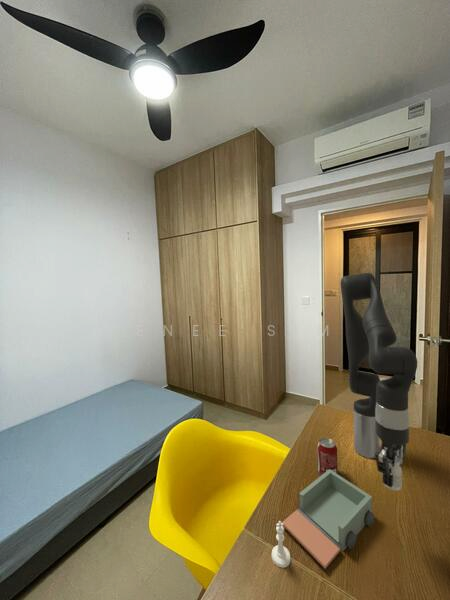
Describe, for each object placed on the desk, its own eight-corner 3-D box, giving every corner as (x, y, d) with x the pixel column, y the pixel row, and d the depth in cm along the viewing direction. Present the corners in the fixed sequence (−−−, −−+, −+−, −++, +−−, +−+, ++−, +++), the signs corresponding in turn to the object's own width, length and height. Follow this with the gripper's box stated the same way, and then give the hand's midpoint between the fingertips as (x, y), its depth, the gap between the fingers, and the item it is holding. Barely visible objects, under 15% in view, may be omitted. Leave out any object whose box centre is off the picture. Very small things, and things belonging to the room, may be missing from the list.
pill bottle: (383, 475, 71) (383, 450, 70) (402, 483, 68) (402, 456, 67) (381, 485, 67) (381, 459, 67) (400, 494, 65) (401, 466, 64)
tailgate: (298, 507, 77) (282, 522, 72) (341, 546, 65) (325, 565, 61) (298, 510, 77) (282, 525, 73) (341, 549, 65) (325, 569, 61)
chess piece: (269, 548, 67) (268, 514, 67) (286, 545, 68) (285, 511, 67) (274, 569, 62) (273, 532, 62) (293, 566, 63) (292, 529, 62)
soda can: (339, 481, 88) (339, 449, 87) (319, 478, 90) (318, 447, 89) (335, 467, 95) (334, 437, 94) (316, 465, 96) (315, 435, 95)
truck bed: (326, 484, 87) (326, 467, 87) (376, 519, 74) (376, 499, 73) (296, 509, 78) (296, 490, 78) (347, 555, 65) (347, 532, 64)
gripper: (388, 406, 73) (388, 460, 75) (363, 424, 65) (364, 484, 67) (418, 416, 67) (418, 475, 68) (396, 438, 59) (396, 504, 60)
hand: (391, 479), depth 67 cm, fingers closed on pill bottle, 4 cm apart
